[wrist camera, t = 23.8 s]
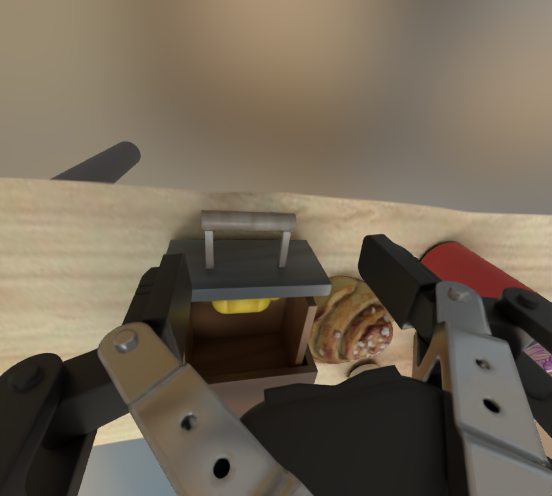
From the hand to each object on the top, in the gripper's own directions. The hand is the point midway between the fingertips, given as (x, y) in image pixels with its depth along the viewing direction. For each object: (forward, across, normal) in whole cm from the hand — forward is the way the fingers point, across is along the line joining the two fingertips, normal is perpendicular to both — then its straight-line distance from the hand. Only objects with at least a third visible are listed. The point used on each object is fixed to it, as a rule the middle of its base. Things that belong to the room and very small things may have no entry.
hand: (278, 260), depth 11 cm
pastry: (+14, -11, +19) cm, 26 cm away
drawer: (+13, +2, +10) cm, 17 cm away
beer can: (+14, -24, +13) cm, 31 cm away
